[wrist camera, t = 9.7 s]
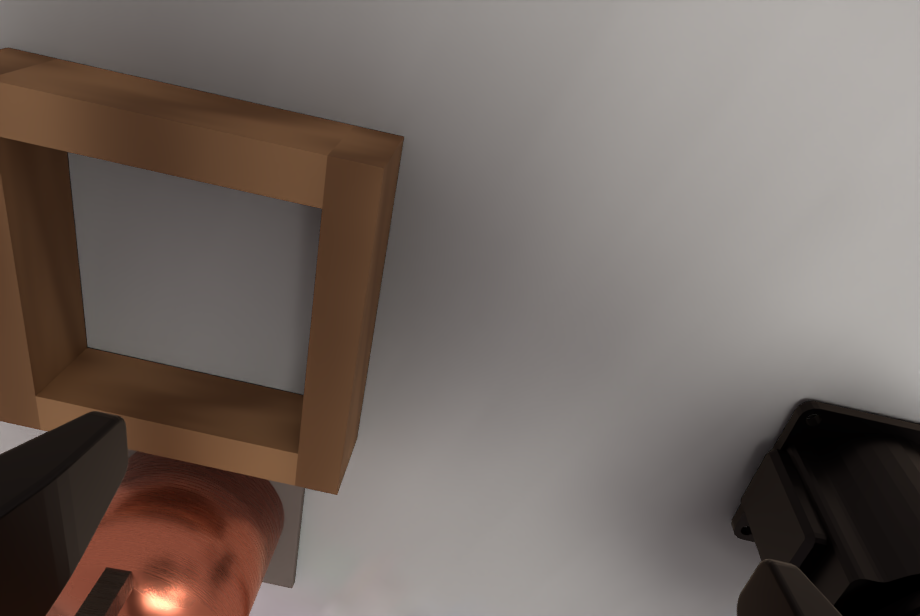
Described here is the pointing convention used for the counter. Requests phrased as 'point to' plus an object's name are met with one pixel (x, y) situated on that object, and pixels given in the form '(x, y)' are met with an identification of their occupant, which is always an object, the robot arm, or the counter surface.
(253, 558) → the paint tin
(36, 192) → the holder
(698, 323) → the counter surface
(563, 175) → the counter surface
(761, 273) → the counter surface
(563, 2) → the counter surface
